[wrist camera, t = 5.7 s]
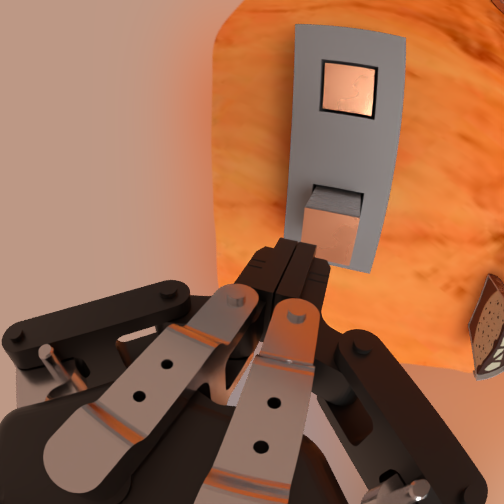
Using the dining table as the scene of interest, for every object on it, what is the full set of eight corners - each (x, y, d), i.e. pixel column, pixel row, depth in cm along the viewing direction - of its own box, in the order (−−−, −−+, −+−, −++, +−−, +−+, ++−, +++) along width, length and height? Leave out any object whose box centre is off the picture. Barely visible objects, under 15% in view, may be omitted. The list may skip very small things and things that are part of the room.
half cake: (493, 332, 30) (506, 381, 22) (464, 331, 33) (474, 383, 25) (521, 267, 24) (548, 313, 16) (491, 264, 27) (516, 313, 19)
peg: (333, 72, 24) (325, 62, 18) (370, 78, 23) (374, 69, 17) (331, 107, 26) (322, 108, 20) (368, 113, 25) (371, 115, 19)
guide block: (311, 42, 23) (295, 24, 17) (394, 53, 21) (405, 37, 14) (299, 222, 35) (282, 254, 28) (369, 237, 32) (369, 273, 26)
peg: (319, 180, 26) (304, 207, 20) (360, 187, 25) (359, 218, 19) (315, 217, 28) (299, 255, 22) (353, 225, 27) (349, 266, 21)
